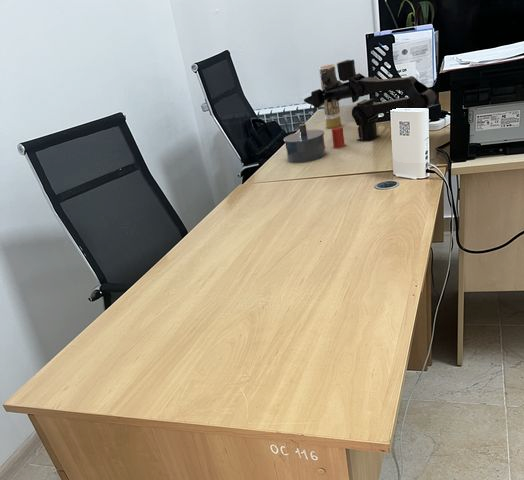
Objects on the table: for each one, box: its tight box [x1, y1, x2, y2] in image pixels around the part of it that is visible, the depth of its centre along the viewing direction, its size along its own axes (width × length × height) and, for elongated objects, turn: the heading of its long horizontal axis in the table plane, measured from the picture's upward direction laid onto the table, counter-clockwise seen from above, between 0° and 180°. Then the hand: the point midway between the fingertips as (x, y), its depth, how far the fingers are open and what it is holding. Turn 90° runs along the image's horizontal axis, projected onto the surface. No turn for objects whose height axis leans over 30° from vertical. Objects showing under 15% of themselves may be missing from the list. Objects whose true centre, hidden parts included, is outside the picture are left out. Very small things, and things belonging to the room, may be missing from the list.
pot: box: [284, 135, 326, 164], centre depth 210 cm, size 15×15×8 cm
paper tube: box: [318, 63, 342, 129], centre depth 240 cm, size 7×7×25 cm
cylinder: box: [331, 126, 346, 149], centre depth 214 cm, size 4×4×7 cm
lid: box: [283, 123, 325, 144], centre depth 207 cm, size 16×16×5 cm
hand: (310, 97), depth 223 cm, fingers open, 9 cm apart
